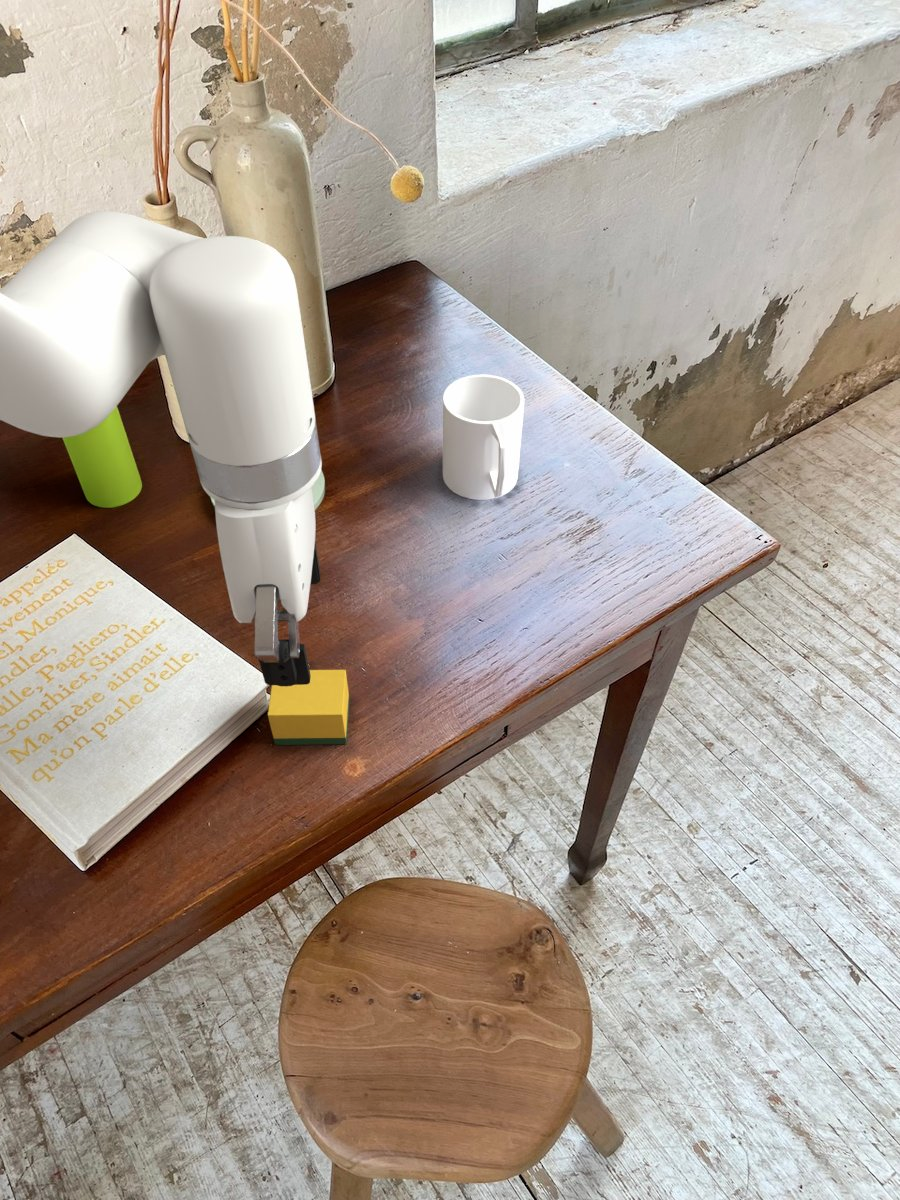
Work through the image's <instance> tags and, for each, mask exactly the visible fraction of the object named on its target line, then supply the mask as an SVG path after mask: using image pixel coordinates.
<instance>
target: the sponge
mask: <svg viewBox="0 0 900 1200" xmlns="http://www.w3.org/2000/svg"><path fill="white" fill-rule="evenodd" d="M309 670H310V675H311V677H310V683H309V684H307V685H293V686H277V685H271V688H270V695H269V702H268V709H267V719H268V722H269V726H270V730H271V733H272V739H273V742H274V745H275V746H305V745H306V746H308V745H310V746H311V745H312V746H313V745H314V746H315V745H317V746H318V745H321V746H322V745H347V743H348V732H349V716H350V702H351V701H350V693H349V685H348V679H347V678H348V677H347V670H346V669H309Z"/></svg>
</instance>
